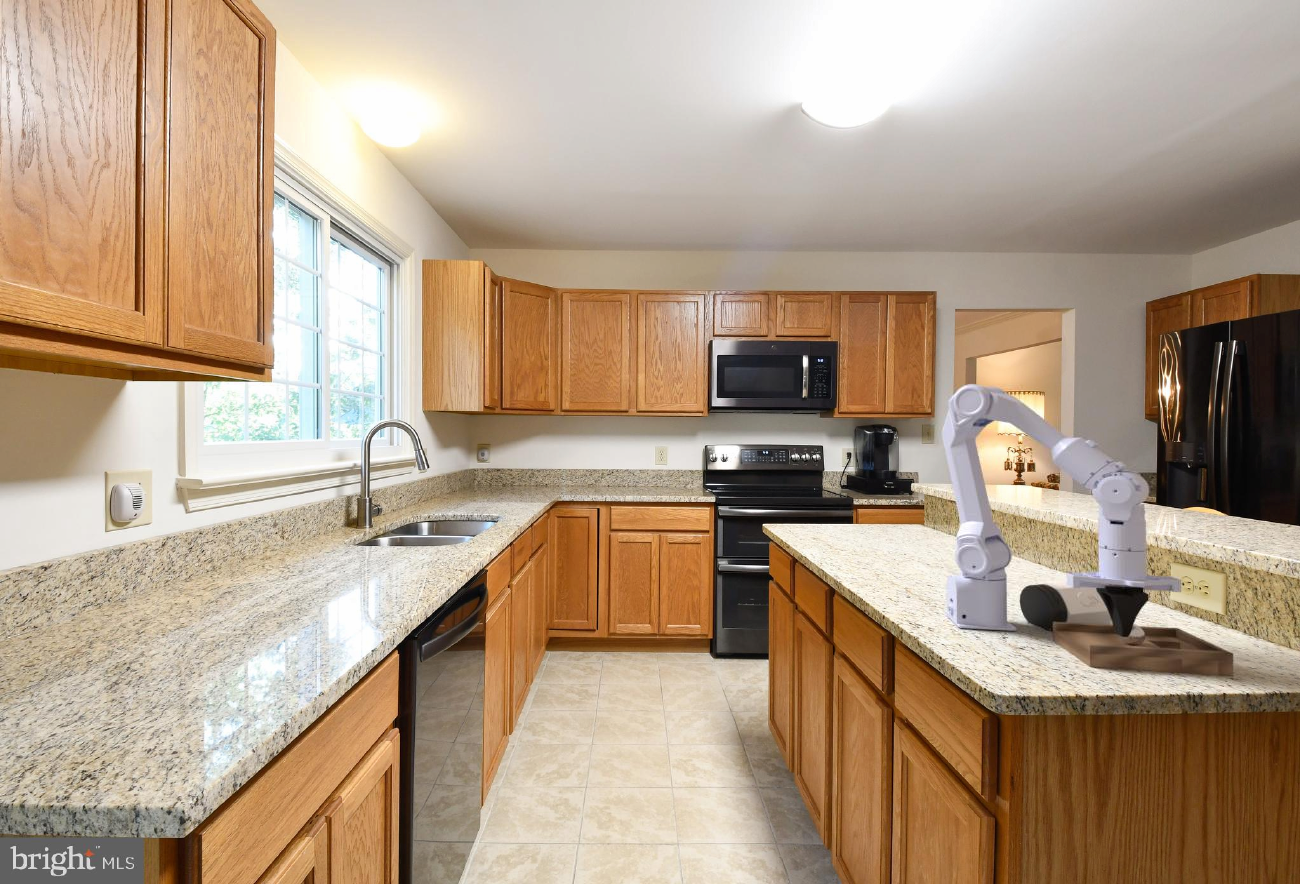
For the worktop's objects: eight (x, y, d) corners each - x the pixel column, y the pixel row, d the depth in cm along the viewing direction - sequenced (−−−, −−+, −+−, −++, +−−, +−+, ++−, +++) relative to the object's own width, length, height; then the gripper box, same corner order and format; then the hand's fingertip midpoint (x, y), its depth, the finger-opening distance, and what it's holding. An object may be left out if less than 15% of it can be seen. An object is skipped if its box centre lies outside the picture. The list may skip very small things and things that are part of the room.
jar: (1126, 622, 97) (1063, 628, 96) (1091, 631, 104) (1032, 637, 103) (1101, 571, 101) (1040, 577, 100) (1068, 584, 108) (1011, 589, 107)
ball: (1129, 624, 86) (1153, 632, 85) (1117, 617, 89) (1140, 625, 88) (1122, 643, 86) (1146, 651, 85) (1110, 636, 89) (1133, 643, 88)
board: (1090, 666, 83) (1089, 645, 83) (1052, 640, 94) (1052, 621, 94) (1233, 676, 80) (1233, 653, 80) (1177, 647, 90) (1177, 628, 90)
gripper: (1083, 551, 85) (1084, 640, 85) (1195, 554, 82) (1197, 647, 82) (1059, 543, 92) (1060, 626, 92) (1162, 546, 89) (1163, 631, 89)
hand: (1122, 635), depth 87 cm, fingers closed, pressing on ball
